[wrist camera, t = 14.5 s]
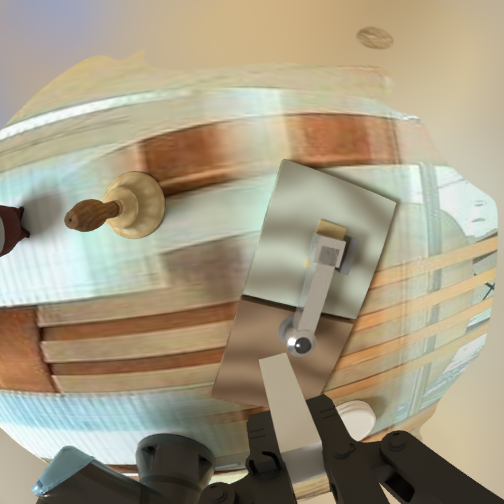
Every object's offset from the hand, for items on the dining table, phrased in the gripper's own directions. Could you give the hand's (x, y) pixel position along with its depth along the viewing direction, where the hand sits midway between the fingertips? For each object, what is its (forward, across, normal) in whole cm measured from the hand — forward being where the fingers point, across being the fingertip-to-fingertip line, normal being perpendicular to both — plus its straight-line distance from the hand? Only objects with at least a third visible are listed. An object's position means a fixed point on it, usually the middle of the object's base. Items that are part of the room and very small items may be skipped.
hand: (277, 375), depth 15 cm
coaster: (+22, +10, -32) cm, 40 cm away
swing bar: (+19, +7, -4) cm, 21 cm away
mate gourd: (+22, -31, +15) cm, 41 cm away
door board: (+22, +6, -6) cm, 23 cm away
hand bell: (+22, -12, +12) cm, 27 cm away
